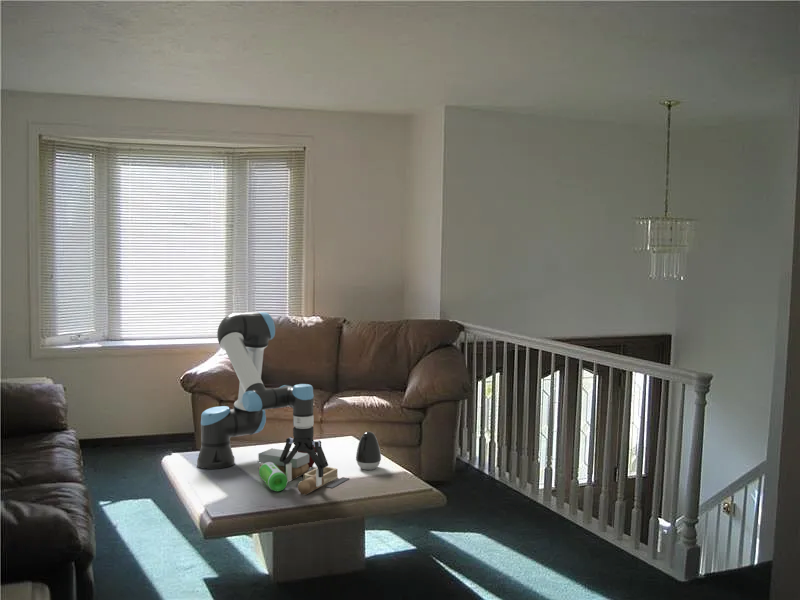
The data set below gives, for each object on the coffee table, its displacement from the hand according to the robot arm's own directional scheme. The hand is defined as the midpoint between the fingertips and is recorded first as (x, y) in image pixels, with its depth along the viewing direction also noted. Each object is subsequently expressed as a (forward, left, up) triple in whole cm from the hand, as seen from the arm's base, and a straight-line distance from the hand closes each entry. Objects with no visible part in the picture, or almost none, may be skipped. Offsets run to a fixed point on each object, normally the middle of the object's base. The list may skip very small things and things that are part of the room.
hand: (303, 483), depth 274 cm
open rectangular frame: (0, +12, -2) cm, 12 cm away
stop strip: (+7, +12, -2) cm, 14 cm away
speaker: (-13, -1, -3) cm, 13 cm away
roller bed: (-17, +12, -2) cm, 21 cm away
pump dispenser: (+9, +35, -2) cm, 36 cm away
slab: (-17, +12, +3) cm, 21 cm away
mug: (-13, +25, -2) cm, 29 cm away
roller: (+1, 0, 0) cm, 1 cm away
